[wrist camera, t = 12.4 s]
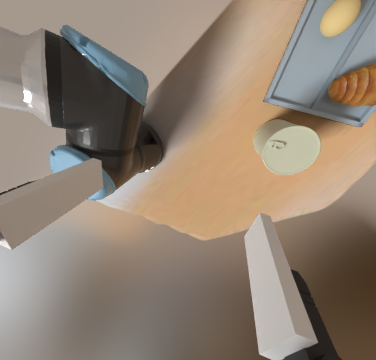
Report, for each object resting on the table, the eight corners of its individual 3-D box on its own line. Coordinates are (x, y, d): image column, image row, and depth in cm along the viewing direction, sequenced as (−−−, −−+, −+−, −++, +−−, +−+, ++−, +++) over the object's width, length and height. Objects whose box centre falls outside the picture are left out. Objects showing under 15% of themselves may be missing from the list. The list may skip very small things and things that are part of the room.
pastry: (320, 109, 31) (331, 109, 27) (331, 70, 28) (344, 64, 25) (379, 105, 28) (399, 104, 25) (398, 61, 25) (422, 54, 22)
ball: (308, 38, 27) (322, 26, 23) (325, 2, 25) (344, -17, 21) (334, 43, 27) (353, 33, 23) (354, 8, 24) (378, -11, 21)
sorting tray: (262, 101, 34) (264, 101, 32) (331, -56, 23) (338, -66, 21) (355, 126, 32) (361, 127, 30) (478, -33, 21) (496, -43, 19)
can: (267, 112, 34) (284, 116, 24) (304, 128, 34) (338, 139, 24) (246, 148, 39) (252, 164, 29) (278, 162, 39) (296, 184, 28)
